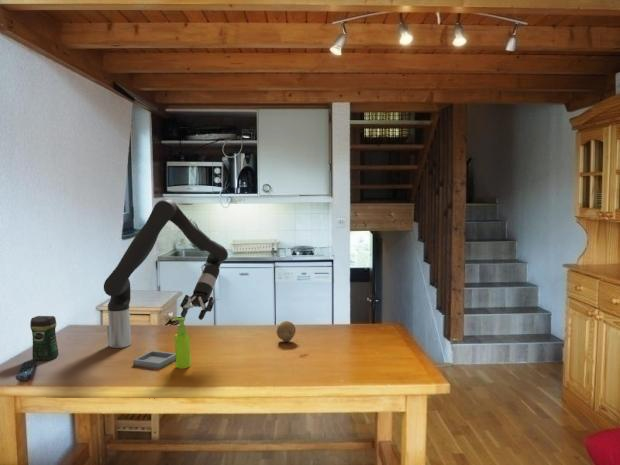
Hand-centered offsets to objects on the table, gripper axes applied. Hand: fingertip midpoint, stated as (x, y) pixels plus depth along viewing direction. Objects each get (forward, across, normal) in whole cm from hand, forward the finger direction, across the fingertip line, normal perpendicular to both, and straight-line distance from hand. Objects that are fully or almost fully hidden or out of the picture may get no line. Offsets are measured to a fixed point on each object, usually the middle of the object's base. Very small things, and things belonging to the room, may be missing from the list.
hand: (191, 318), depth 203 cm
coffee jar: (+26, -62, 0) cm, 67 cm away
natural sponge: (-11, +29, +36) cm, 48 cm away
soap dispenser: (+18, 0, +8) cm, 20 cm away
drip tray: (+18, -13, +7) cm, 24 cm away
